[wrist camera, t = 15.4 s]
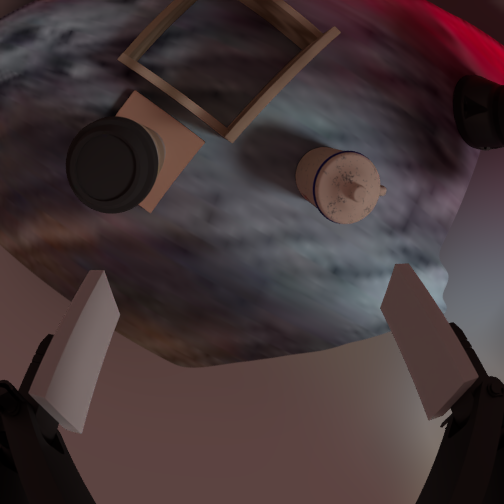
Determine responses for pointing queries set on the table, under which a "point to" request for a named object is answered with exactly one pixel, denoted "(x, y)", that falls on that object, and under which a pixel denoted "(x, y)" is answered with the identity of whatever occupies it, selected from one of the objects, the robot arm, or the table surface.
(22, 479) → the robot arm
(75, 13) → the table surface
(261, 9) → the frame
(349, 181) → the teacup with lid
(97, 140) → the coffee cup
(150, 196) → the terracotta tile
